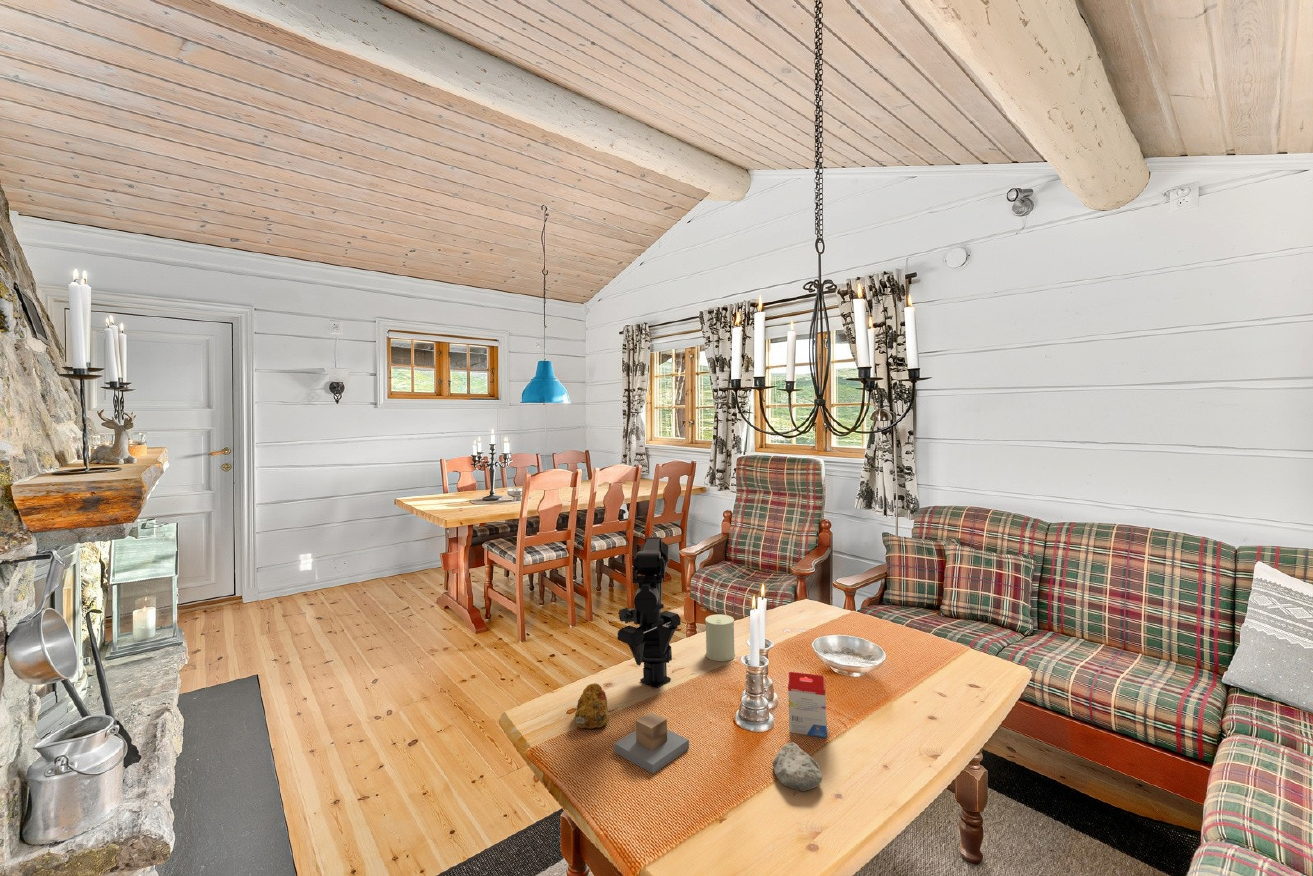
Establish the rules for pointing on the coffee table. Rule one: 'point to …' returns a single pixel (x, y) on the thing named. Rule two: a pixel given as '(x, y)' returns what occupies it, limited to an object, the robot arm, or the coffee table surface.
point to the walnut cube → (651, 730)
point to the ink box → (807, 704)
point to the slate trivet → (648, 757)
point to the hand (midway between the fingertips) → (650, 659)
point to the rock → (592, 708)
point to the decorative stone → (796, 768)
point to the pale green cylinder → (720, 637)
